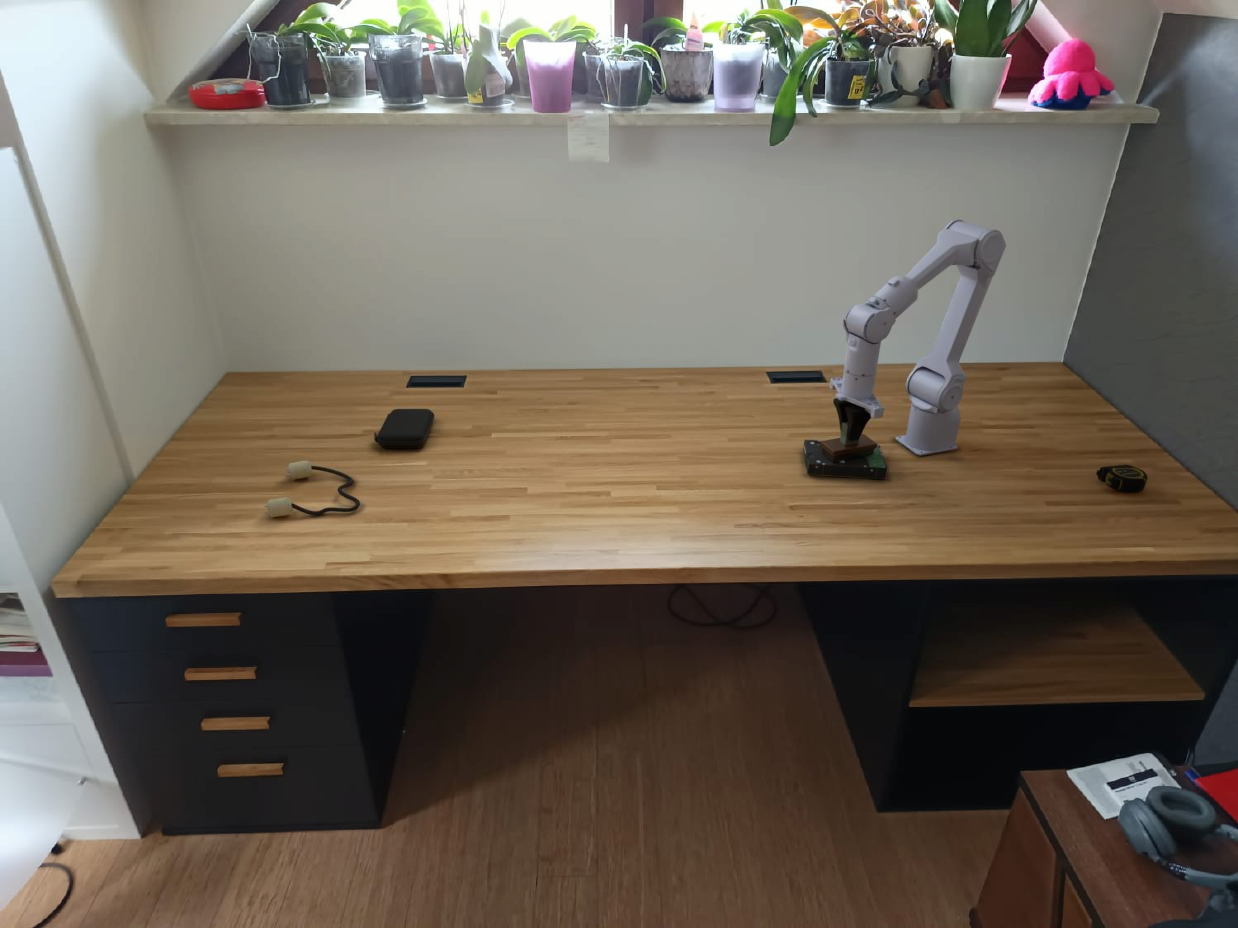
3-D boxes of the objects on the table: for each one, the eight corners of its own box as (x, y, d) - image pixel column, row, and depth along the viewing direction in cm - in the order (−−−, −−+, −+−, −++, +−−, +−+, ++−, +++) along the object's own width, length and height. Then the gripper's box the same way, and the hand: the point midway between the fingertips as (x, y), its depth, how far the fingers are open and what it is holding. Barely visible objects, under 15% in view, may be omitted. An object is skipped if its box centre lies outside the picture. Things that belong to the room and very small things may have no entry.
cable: (372, 471, 165) (370, 455, 163) (357, 517, 151) (354, 500, 149) (288, 473, 164) (285, 457, 162) (264, 521, 149) (260, 503, 148)
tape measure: (1125, 477, 165) (1131, 460, 163) (1151, 496, 159) (1157, 478, 157) (1093, 480, 164) (1098, 463, 162) (1118, 499, 158) (1123, 481, 156)
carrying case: (386, 418, 185) (370, 451, 172) (384, 405, 183) (368, 437, 170) (436, 418, 185) (424, 451, 172) (435, 405, 183) (423, 437, 171)
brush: (861, 444, 170) (866, 414, 167) (875, 455, 166) (880, 424, 163) (819, 452, 167) (823, 422, 164) (832, 463, 163) (836, 432, 160)
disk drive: (806, 477, 165) (887, 480, 163) (808, 464, 163) (889, 467, 162) (802, 451, 174) (878, 454, 172) (803, 439, 172) (880, 441, 171)
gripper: (819, 358, 163) (811, 424, 169) (864, 388, 151) (853, 457, 157) (851, 354, 165) (842, 418, 172) (898, 383, 153) (886, 451, 160)
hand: (849, 437), depth 165 cm, fingers closed on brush
